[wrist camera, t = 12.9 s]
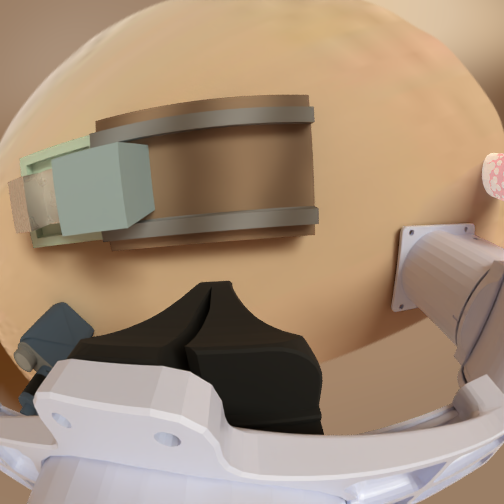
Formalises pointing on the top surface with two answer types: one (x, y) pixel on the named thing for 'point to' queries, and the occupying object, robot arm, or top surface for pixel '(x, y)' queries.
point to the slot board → (220, 170)
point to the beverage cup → (494, 175)
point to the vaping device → (48, 347)
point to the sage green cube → (103, 188)
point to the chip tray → (42, 163)
